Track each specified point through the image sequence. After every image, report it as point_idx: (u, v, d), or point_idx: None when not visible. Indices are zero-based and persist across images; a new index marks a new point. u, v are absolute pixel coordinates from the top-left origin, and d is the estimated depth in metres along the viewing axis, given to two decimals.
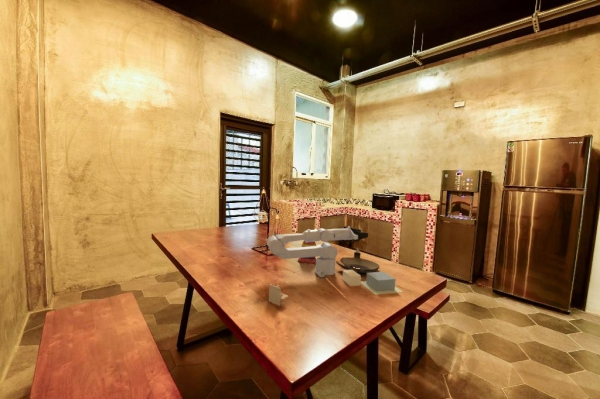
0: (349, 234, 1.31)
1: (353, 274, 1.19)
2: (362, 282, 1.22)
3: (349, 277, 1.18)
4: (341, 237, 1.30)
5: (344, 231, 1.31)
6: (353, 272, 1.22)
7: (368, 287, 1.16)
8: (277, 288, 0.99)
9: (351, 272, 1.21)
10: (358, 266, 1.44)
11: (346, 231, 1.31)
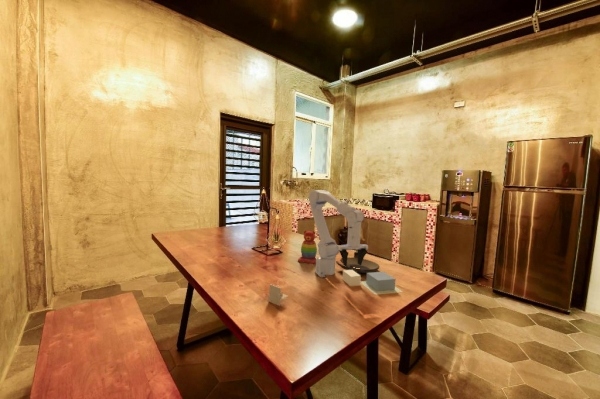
0: (348, 244, 1.19)
1: (353, 274, 1.19)
2: (362, 282, 1.22)
3: (349, 277, 1.18)
4: (348, 235, 1.19)
5: (351, 240, 1.17)
6: (353, 272, 1.22)
7: (368, 287, 1.16)
8: (277, 288, 0.99)
9: (351, 272, 1.21)
10: (358, 266, 1.44)
11: (351, 242, 1.17)
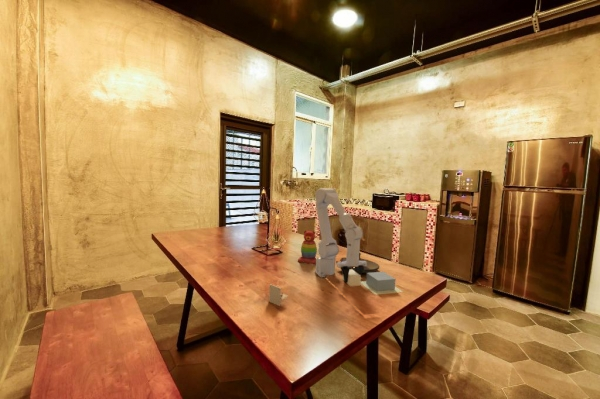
0: (347, 261, 1.19)
1: (353, 274, 1.19)
2: (362, 282, 1.22)
3: (349, 277, 1.18)
4: (347, 252, 1.19)
5: (350, 257, 1.18)
6: (353, 272, 1.22)
7: (368, 287, 1.16)
8: (277, 288, 0.98)
9: (351, 272, 1.21)
10: None
11: (350, 260, 1.18)
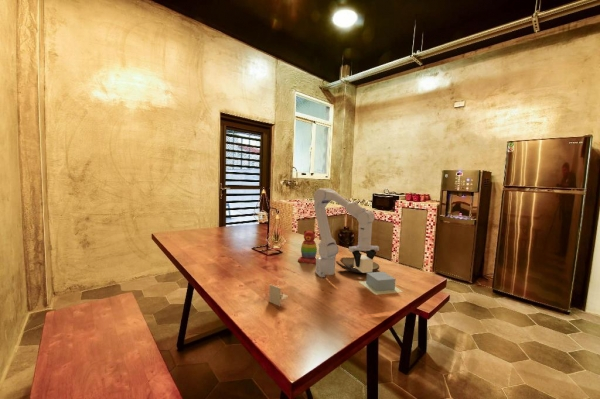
0: (359, 246, 1.17)
1: (365, 258, 1.17)
2: (362, 282, 1.22)
3: (361, 261, 1.16)
4: (359, 236, 1.17)
5: (362, 241, 1.16)
6: (365, 257, 1.20)
7: (368, 287, 1.16)
8: (277, 288, 0.98)
9: (363, 257, 1.19)
10: None
11: (362, 244, 1.16)
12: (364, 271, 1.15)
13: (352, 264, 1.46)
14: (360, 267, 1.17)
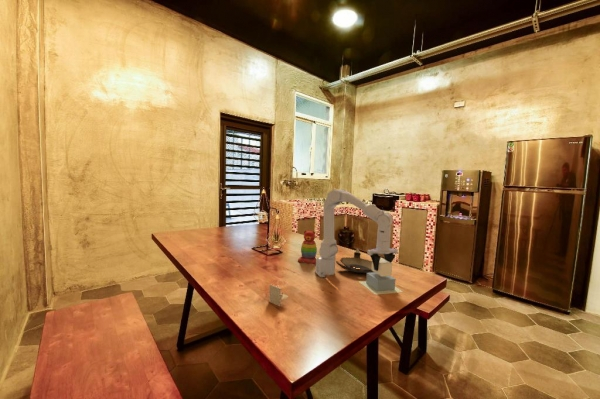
0: (377, 249, 1.15)
1: (384, 262, 1.15)
2: (362, 282, 1.22)
3: (380, 265, 1.14)
4: (379, 240, 1.15)
5: (381, 244, 1.14)
6: (383, 260, 1.18)
7: (368, 287, 1.16)
8: (277, 288, 0.98)
9: (381, 260, 1.17)
10: (358, 266, 1.44)
11: (381, 247, 1.14)
12: (383, 275, 1.13)
13: (352, 264, 1.46)
14: (379, 270, 1.15)
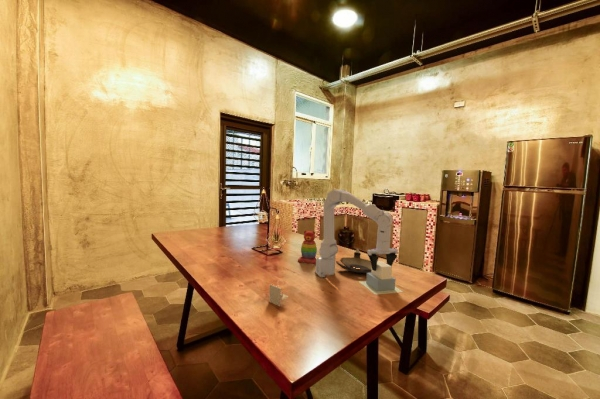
0: (377, 249, 1.15)
1: (384, 265, 1.15)
2: (362, 282, 1.22)
3: (380, 268, 1.14)
4: (379, 240, 1.15)
5: (381, 244, 1.14)
6: (383, 263, 1.18)
7: (368, 287, 1.16)
8: (277, 288, 0.98)
9: (381, 263, 1.17)
10: (358, 266, 1.44)
11: (381, 247, 1.14)
12: (383, 278, 1.13)
13: (352, 264, 1.46)
14: (379, 274, 1.15)
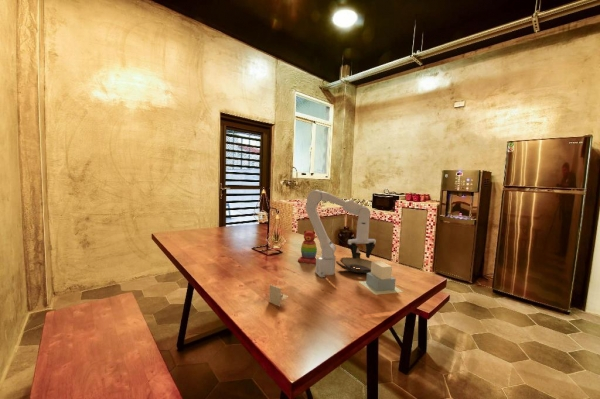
0: (357, 239, 1.27)
1: (384, 265, 1.16)
2: (362, 282, 1.22)
3: (380, 268, 1.14)
4: (360, 231, 1.25)
5: (360, 234, 1.26)
6: (383, 263, 1.18)
7: (368, 287, 1.16)
8: (277, 289, 0.98)
9: (380, 263, 1.17)
10: (358, 266, 1.44)
11: (360, 237, 1.26)
12: (383, 278, 1.13)
13: (352, 264, 1.46)
14: (379, 274, 1.15)
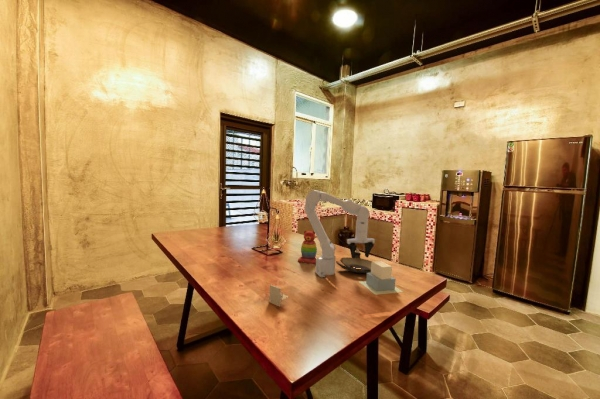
0: (356, 238, 1.28)
1: (384, 265, 1.16)
2: (362, 282, 1.22)
3: (380, 268, 1.14)
4: (359, 230, 1.26)
5: (359, 234, 1.26)
6: (383, 263, 1.18)
7: (368, 287, 1.16)
8: (277, 289, 0.98)
9: (380, 263, 1.17)
10: (358, 266, 1.44)
11: (359, 236, 1.26)
12: (383, 278, 1.13)
13: (352, 264, 1.46)
14: (379, 274, 1.15)
